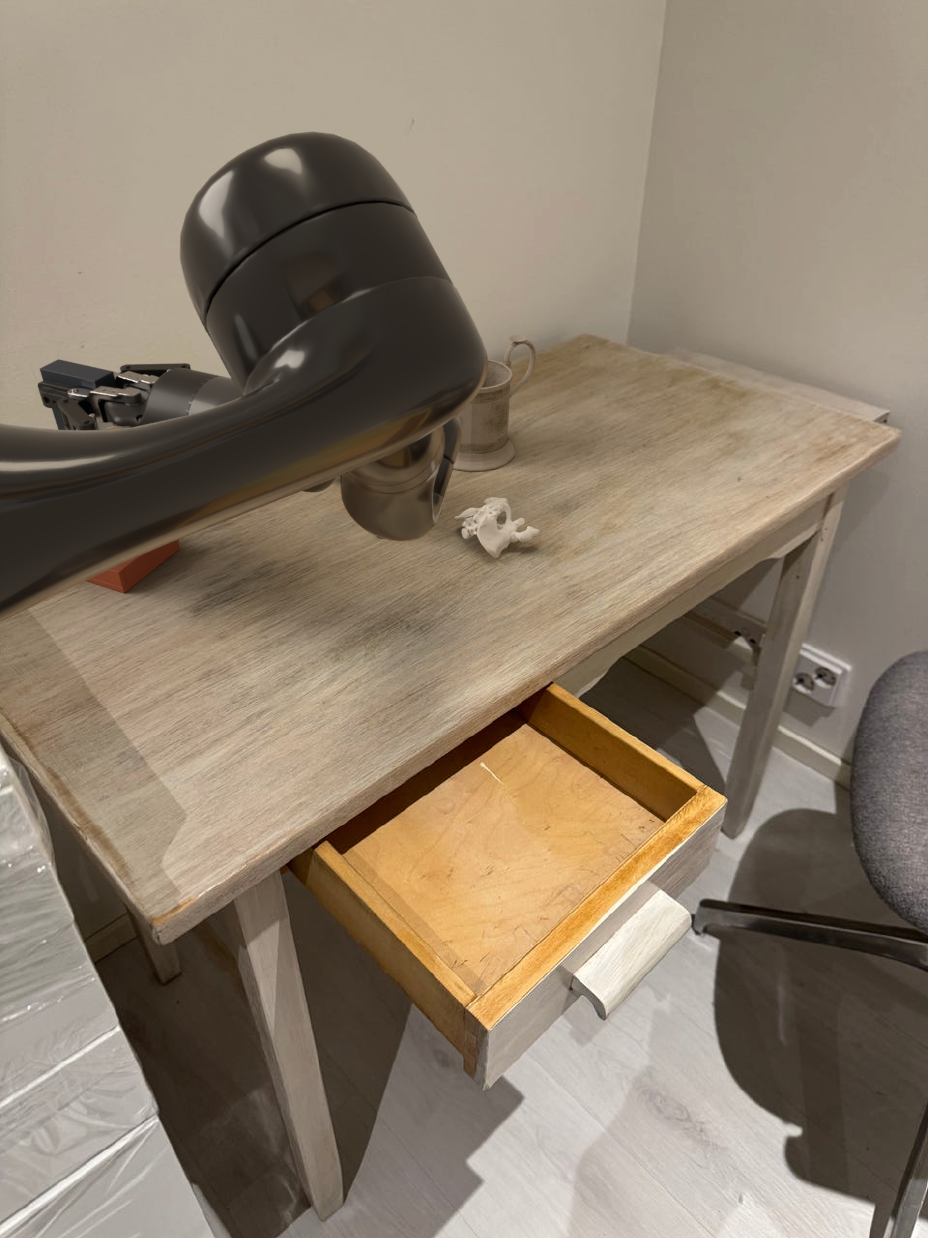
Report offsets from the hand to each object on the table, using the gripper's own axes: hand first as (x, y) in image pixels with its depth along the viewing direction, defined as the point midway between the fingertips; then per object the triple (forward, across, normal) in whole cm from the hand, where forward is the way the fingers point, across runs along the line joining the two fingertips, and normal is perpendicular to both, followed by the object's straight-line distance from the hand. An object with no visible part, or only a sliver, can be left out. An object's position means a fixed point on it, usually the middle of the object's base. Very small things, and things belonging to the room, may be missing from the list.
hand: (55, 386), depth 77 cm
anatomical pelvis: (-33, -19, +18) cm, 42 cm away
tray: (-2, 0, +18) cm, 18 cm away
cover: (-3, 0, +8) cm, 9 cm away
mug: (-25, -37, +18) cm, 48 cm away
